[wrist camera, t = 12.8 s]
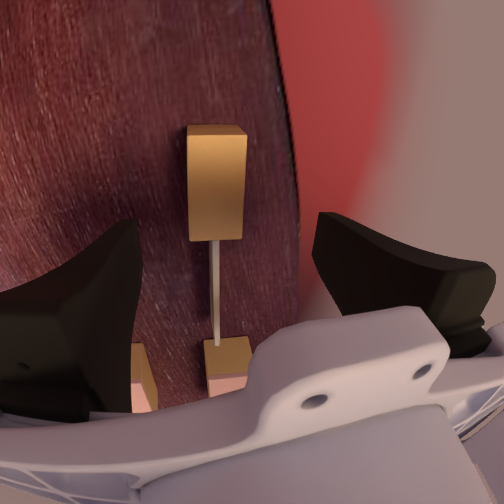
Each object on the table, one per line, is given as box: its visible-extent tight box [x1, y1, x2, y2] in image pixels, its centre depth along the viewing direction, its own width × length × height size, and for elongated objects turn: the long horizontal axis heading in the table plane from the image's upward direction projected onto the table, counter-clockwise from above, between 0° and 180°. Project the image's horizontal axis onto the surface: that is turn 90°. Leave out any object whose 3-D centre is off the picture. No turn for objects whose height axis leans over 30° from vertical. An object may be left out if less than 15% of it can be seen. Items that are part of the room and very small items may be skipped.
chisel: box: [187, 125, 247, 346], centre depth 20 cm, size 15×3×4 cm, turn 177°
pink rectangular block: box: [131, 343, 158, 413], centre depth 25 cm, size 6×8×4 cm
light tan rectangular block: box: [204, 336, 252, 398], centre depth 27 cm, size 4×8×4 cm, turn 177°
